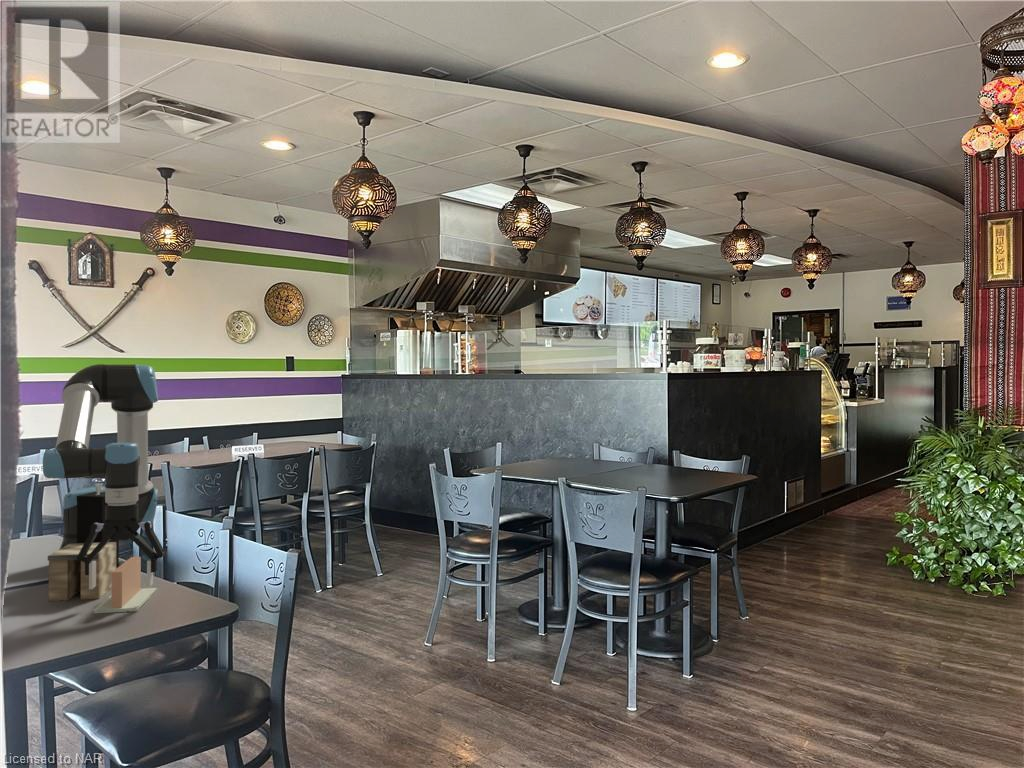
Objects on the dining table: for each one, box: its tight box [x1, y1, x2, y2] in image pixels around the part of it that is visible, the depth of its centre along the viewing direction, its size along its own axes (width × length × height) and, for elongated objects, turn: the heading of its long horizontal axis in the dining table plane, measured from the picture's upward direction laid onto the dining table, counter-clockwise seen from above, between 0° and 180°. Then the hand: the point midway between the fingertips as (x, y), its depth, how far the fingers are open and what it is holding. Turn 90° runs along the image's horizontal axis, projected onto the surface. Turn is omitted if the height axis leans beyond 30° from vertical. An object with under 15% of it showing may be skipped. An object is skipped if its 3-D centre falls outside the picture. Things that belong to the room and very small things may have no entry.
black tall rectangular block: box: [77, 482, 120, 569], centre depth 212 cm, size 8×8×28 cm
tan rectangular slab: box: [110, 556, 142, 608], centre depth 191 cm, size 16×2×9 cm, turn 12°
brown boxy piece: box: [47, 542, 116, 602], centre depth 198 cm, size 15×12×12 cm
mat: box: [93, 587, 158, 614], centre depth 191 cm, size 18×10×1 cm, turn 12°
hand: (121, 586), depth 187 cm, fingers open, 13 cm apart
